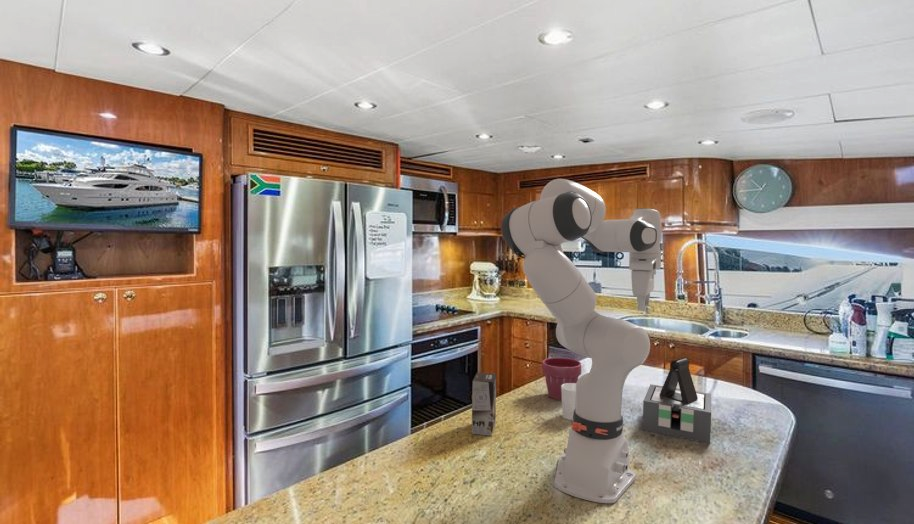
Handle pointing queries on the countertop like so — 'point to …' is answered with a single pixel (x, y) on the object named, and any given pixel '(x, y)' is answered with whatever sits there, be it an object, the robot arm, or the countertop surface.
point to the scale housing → (687, 425)
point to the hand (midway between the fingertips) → (643, 308)
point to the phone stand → (683, 377)
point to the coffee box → (484, 403)
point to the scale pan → (677, 404)
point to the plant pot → (560, 374)
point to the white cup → (568, 399)
